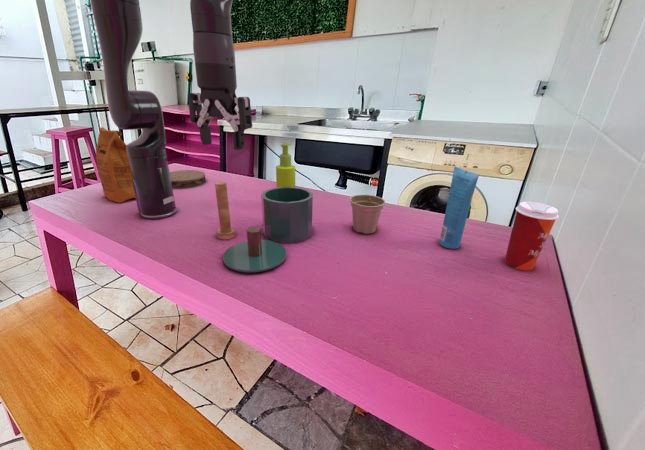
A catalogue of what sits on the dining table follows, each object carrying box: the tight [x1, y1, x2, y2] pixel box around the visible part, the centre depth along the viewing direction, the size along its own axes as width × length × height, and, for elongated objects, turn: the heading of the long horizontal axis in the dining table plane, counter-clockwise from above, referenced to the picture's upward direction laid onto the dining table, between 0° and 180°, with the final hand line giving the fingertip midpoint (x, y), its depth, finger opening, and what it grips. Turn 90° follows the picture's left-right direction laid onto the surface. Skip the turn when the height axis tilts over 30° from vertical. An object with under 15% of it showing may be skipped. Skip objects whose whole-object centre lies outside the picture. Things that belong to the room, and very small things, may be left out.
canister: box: [260, 186, 314, 244], centre depth 78 cm, size 13×13×11 cm
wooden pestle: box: [214, 180, 236, 240], centre depth 74 cm, size 4×4×14 cm
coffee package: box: [95, 126, 136, 203], centre depth 96 cm, size 10×12×22 cm
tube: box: [438, 166, 480, 250], centre depth 72 cm, size 7×5×19 cm, turn 26°
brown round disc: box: [169, 169, 207, 190], centre depth 117 cm, size 16×16×3 cm
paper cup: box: [504, 201, 560, 272], centre depth 66 cm, size 8×8×14 cm
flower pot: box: [349, 194, 386, 235], centre depth 81 cm, size 9×9×9 cm
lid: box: [222, 226, 287, 273], centre depth 66 cm, size 14×14×7 cm
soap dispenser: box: [275, 142, 296, 188], centre depth 94 cm, size 6×7×20 cm
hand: (222, 146), depth 65 cm, fingers open, 8 cm apart
